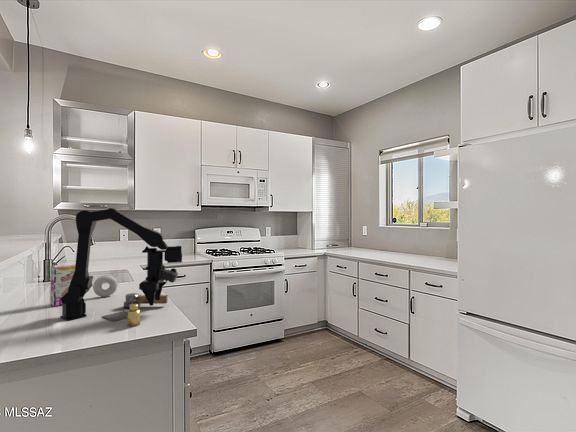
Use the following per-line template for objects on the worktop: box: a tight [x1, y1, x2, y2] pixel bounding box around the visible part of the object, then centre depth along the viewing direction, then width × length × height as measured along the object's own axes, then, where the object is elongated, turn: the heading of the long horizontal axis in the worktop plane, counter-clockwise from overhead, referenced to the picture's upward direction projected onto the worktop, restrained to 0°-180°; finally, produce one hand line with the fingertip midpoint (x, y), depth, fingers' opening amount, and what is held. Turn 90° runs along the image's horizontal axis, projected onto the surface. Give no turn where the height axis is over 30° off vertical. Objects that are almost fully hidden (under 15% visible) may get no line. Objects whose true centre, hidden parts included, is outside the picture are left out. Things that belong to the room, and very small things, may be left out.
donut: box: [92, 274, 118, 298], centre depth 151 cm, size 10×4×10 cm, turn 125°
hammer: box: [123, 292, 168, 309], centre depth 136 cm, size 17×6×4 cm, turn 93°
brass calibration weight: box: [126, 304, 141, 328], centre depth 114 cm, size 4×4×7 cm
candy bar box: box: [49, 263, 84, 307], centre depth 140 cm, size 11×5×16 cm, turn 144°
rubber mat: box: [101, 310, 127, 322], centre depth 123 cm, size 8×8×1 cm
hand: (154, 302), depth 131 cm, fingers open, 8 cm apart
